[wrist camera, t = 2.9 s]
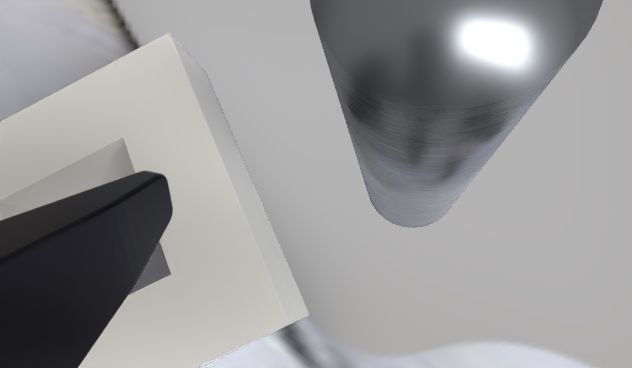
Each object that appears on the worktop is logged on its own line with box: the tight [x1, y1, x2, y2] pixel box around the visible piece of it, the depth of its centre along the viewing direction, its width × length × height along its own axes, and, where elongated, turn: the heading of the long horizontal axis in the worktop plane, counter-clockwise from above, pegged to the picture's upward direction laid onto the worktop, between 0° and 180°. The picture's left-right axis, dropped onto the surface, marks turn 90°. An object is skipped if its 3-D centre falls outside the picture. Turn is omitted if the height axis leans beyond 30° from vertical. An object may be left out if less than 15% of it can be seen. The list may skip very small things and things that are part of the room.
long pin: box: [310, 0, 603, 227], centre depth 12 cm, size 4×4×13 cm
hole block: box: [0, 32, 310, 368], centre depth 18 cm, size 12×12×4 cm
